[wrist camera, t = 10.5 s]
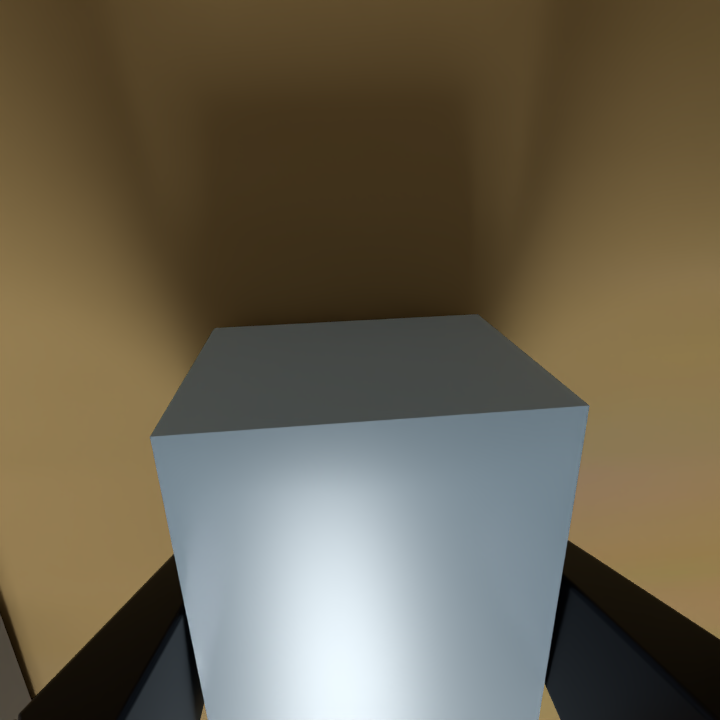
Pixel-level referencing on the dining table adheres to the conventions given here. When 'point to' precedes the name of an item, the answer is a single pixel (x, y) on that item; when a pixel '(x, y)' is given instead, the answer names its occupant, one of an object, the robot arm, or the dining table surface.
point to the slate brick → (370, 518)
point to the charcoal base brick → (10, 680)
